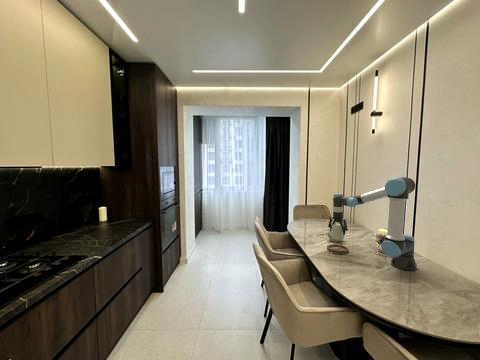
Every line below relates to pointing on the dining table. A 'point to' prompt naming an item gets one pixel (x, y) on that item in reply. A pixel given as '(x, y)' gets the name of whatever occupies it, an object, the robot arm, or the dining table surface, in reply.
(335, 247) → the trivet
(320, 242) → the dining table surface
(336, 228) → the grey-green tapered block
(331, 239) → the sugar bowl
